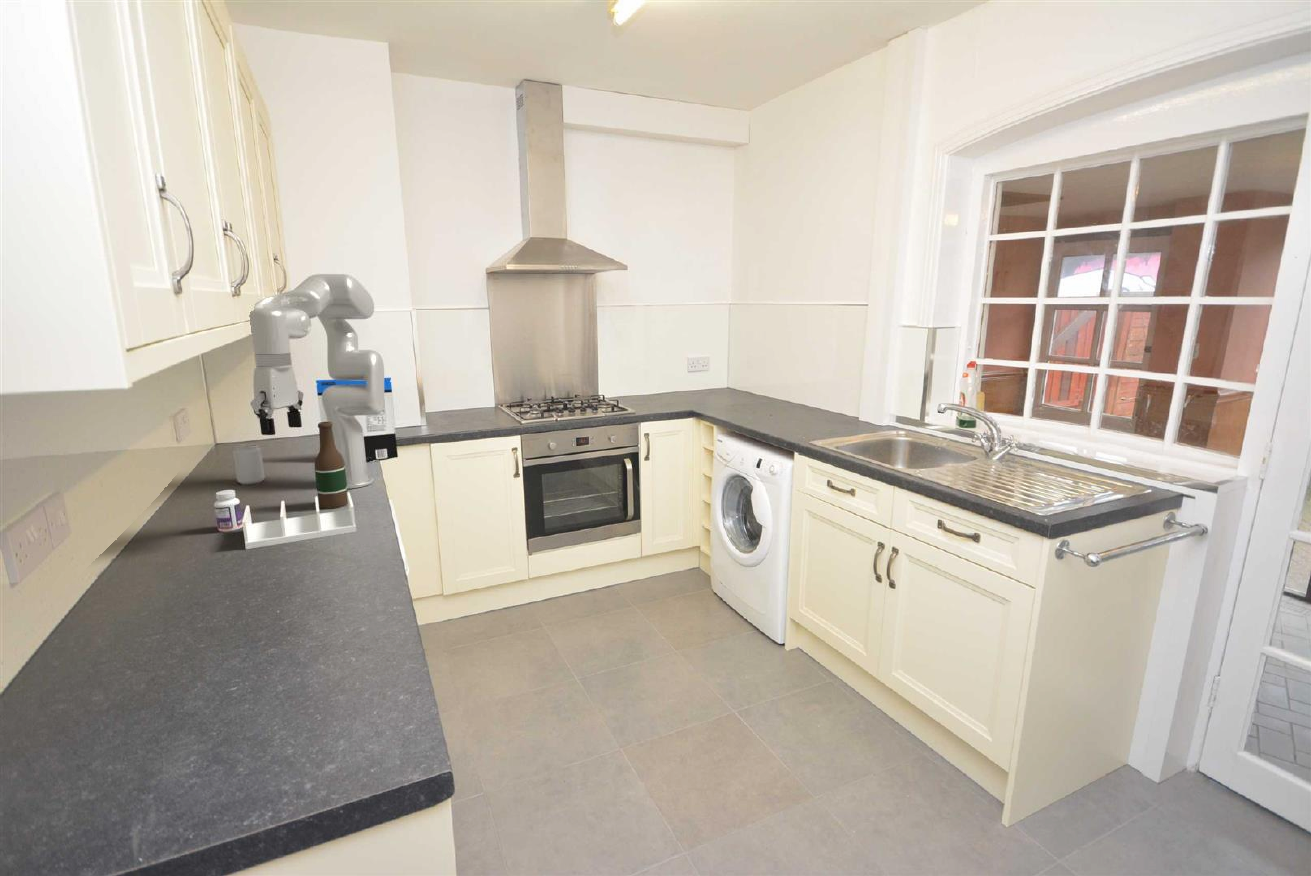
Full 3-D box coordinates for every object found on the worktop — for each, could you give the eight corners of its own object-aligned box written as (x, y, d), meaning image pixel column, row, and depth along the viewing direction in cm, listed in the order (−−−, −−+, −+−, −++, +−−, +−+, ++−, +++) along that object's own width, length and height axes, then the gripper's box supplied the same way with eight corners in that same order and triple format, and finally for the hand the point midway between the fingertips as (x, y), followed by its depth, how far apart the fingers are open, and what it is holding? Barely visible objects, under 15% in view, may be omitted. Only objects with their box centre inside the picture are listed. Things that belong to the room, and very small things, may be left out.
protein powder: (397, 460, 228) (390, 379, 221) (323, 466, 219) (313, 381, 213) (398, 454, 236) (391, 376, 230) (327, 460, 228) (317, 378, 222)
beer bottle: (322, 511, 171) (312, 426, 166) (316, 504, 177) (306, 422, 172) (352, 505, 176) (343, 422, 171) (345, 499, 182) (336, 418, 177)
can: (231, 484, 197) (226, 447, 195) (251, 477, 204) (246, 442, 202) (251, 485, 195) (245, 448, 193) (270, 479, 202) (265, 443, 200)
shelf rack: (249, 529, 157) (246, 505, 156) (351, 514, 168) (349, 491, 167) (245, 549, 144) (242, 522, 143) (356, 531, 156) (353, 506, 154)
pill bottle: (236, 523, 162) (231, 487, 160) (247, 527, 159) (242, 490, 157) (213, 529, 157) (208, 493, 155) (224, 533, 154) (218, 496, 152)
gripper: (283, 358, 158) (291, 424, 162) (232, 364, 141) (242, 437, 145) (311, 358, 157) (318, 424, 161) (262, 364, 141) (272, 438, 144)
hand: (282, 430), depth 153 cm, fingers open, 9 cm apart
